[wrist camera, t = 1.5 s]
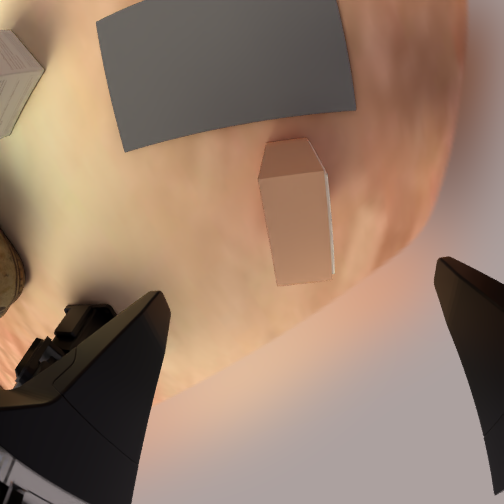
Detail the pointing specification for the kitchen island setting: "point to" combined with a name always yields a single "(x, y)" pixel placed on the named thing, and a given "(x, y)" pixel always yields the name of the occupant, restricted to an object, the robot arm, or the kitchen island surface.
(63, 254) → the kitchen island surface
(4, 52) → the supplement box
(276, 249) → the slab
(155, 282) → the kitchen island surface
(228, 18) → the mat
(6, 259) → the ceramic vessel
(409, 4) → the kitchen island surface
